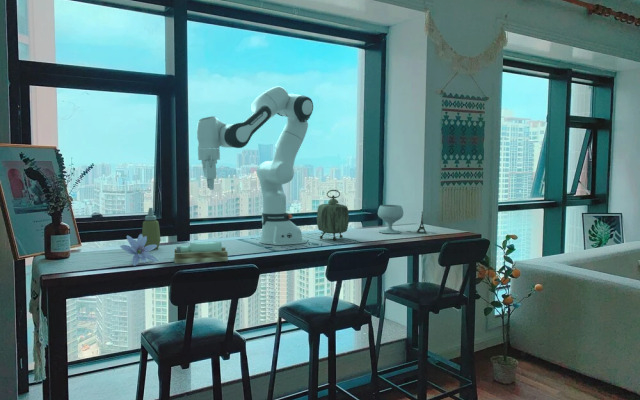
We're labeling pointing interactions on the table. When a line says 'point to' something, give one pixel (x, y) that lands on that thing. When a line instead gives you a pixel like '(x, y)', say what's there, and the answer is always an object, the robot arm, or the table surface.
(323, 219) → the tabletop clock
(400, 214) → the chalice
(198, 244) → the bottle
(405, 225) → the table surface
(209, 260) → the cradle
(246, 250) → the table surface
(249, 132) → the robot arm
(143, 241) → the water lily
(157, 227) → the squeeze bottle
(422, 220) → the eiffel tower figurine
